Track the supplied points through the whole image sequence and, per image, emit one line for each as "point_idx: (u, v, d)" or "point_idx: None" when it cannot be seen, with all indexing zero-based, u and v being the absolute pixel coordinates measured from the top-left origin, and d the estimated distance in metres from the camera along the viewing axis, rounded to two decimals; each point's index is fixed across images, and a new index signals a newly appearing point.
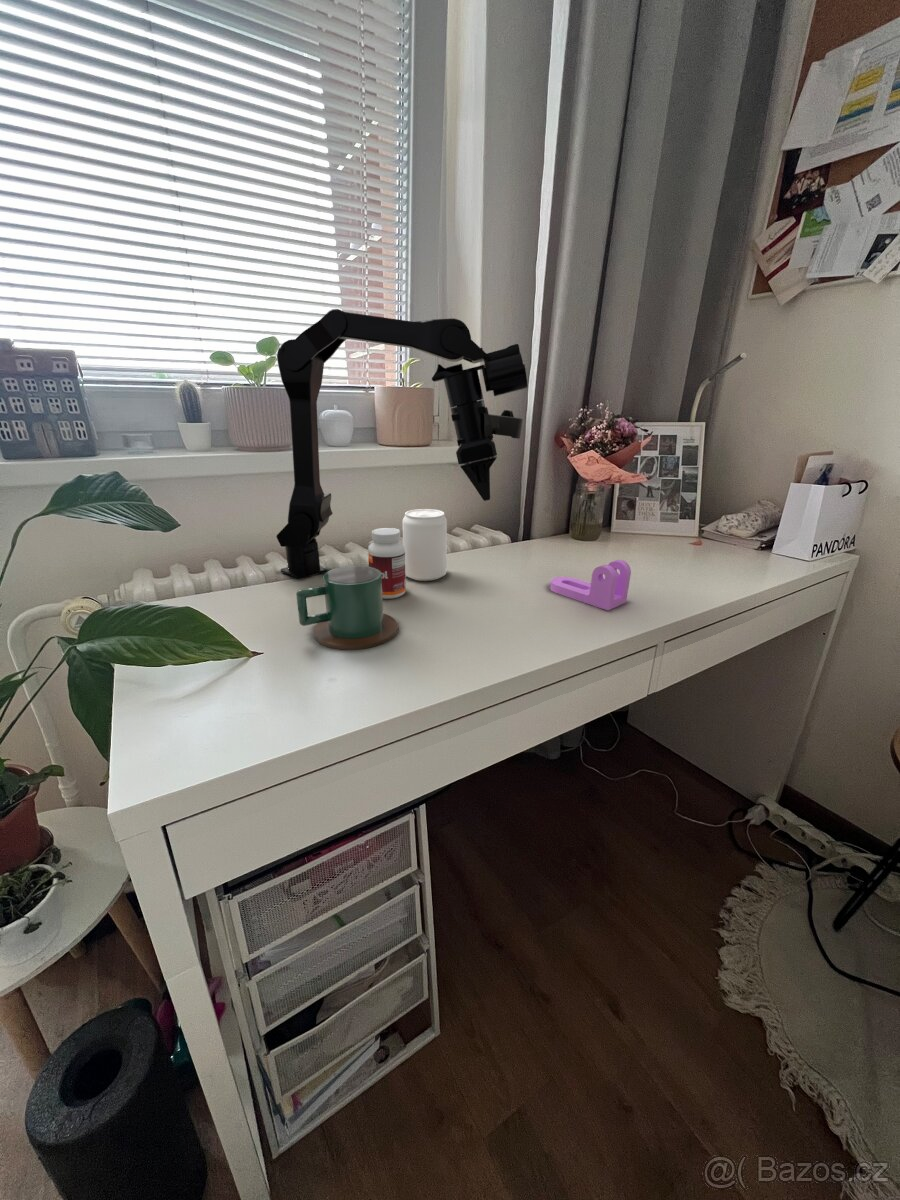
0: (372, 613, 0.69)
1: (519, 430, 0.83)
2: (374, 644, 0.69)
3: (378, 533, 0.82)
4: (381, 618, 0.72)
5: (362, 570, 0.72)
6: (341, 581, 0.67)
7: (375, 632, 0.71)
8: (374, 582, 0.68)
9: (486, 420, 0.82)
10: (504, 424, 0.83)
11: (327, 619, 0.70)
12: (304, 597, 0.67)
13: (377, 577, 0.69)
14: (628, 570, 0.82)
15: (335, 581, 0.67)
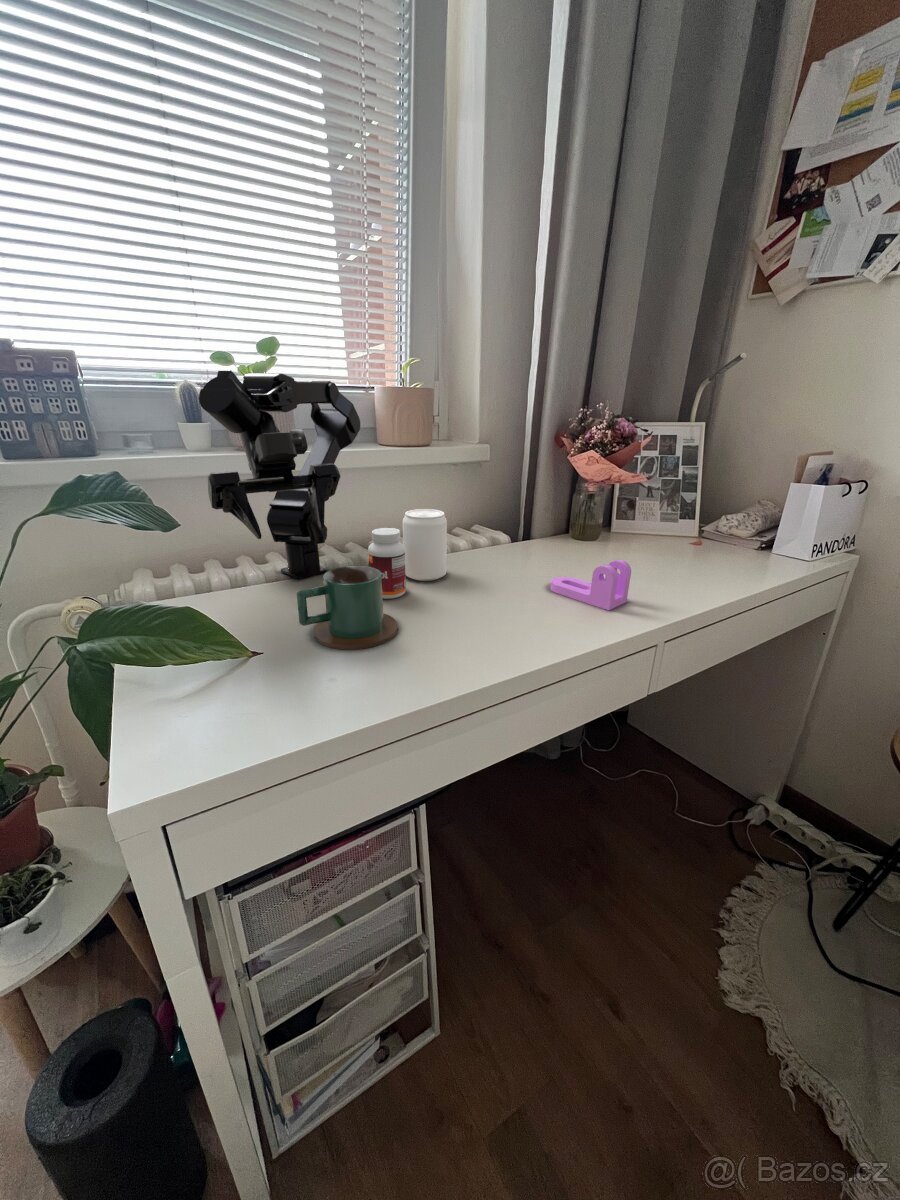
0: (372, 613, 0.69)
1: (263, 447, 0.69)
2: (374, 644, 0.69)
3: (378, 533, 0.82)
4: (381, 618, 0.72)
5: (362, 570, 0.72)
6: (341, 581, 0.67)
7: (375, 632, 0.71)
8: (374, 582, 0.68)
9: (251, 454, 0.74)
10: (257, 449, 0.71)
11: (327, 619, 0.70)
12: (304, 597, 0.67)
13: (377, 577, 0.69)
14: (628, 569, 0.82)
15: (335, 581, 0.67)
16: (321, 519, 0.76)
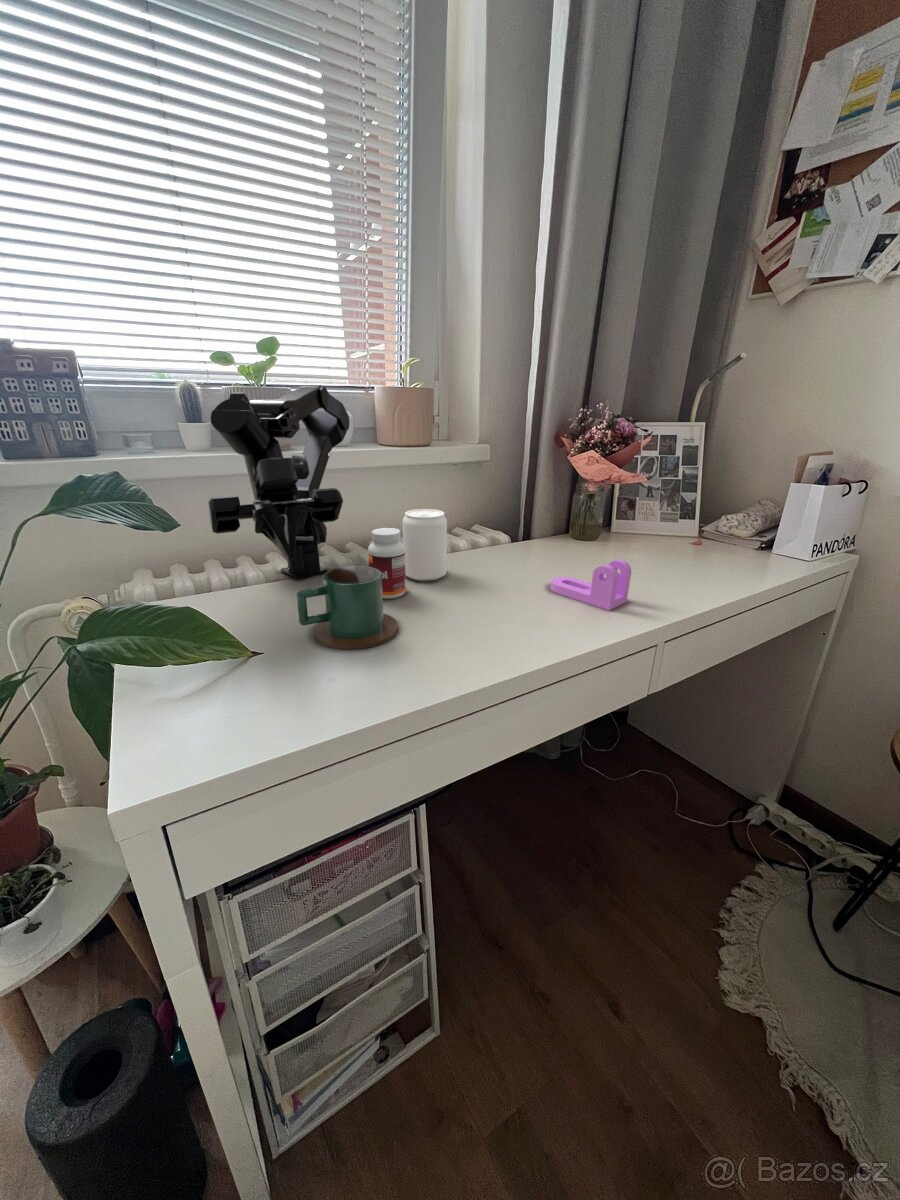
0: (372, 613, 0.69)
1: (263, 472, 0.69)
2: (374, 644, 0.69)
3: (378, 533, 0.82)
4: (381, 618, 0.72)
5: (362, 570, 0.72)
6: (341, 581, 0.67)
7: (375, 632, 0.71)
8: (374, 582, 0.68)
9: (254, 479, 0.73)
10: (258, 474, 0.71)
11: (327, 619, 0.70)
12: (304, 597, 0.67)
13: (377, 577, 0.69)
14: (628, 569, 0.82)
15: (335, 581, 0.67)
16: (291, 548, 0.73)
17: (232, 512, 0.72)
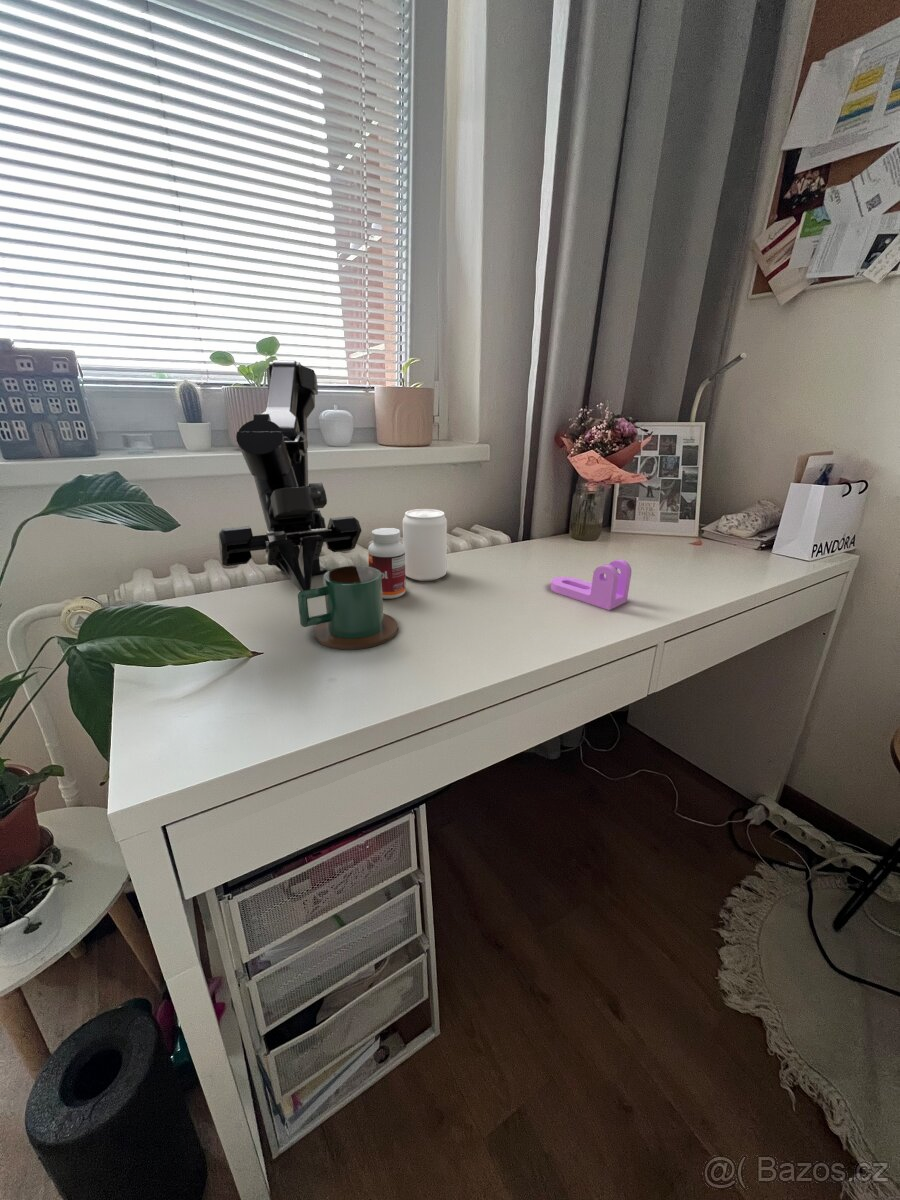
0: (373, 613, 0.69)
1: (278, 503, 0.64)
2: (374, 644, 0.69)
3: (378, 533, 0.82)
4: (382, 617, 0.72)
5: (361, 570, 0.72)
6: (342, 581, 0.67)
7: (376, 631, 0.71)
8: (375, 581, 0.68)
9: (267, 508, 0.68)
10: (272, 503, 0.66)
11: (328, 620, 0.70)
12: (305, 598, 0.67)
13: (378, 576, 0.69)
14: (628, 569, 0.82)
15: (336, 581, 0.67)
16: (307, 583, 0.68)
17: (244, 544, 0.67)
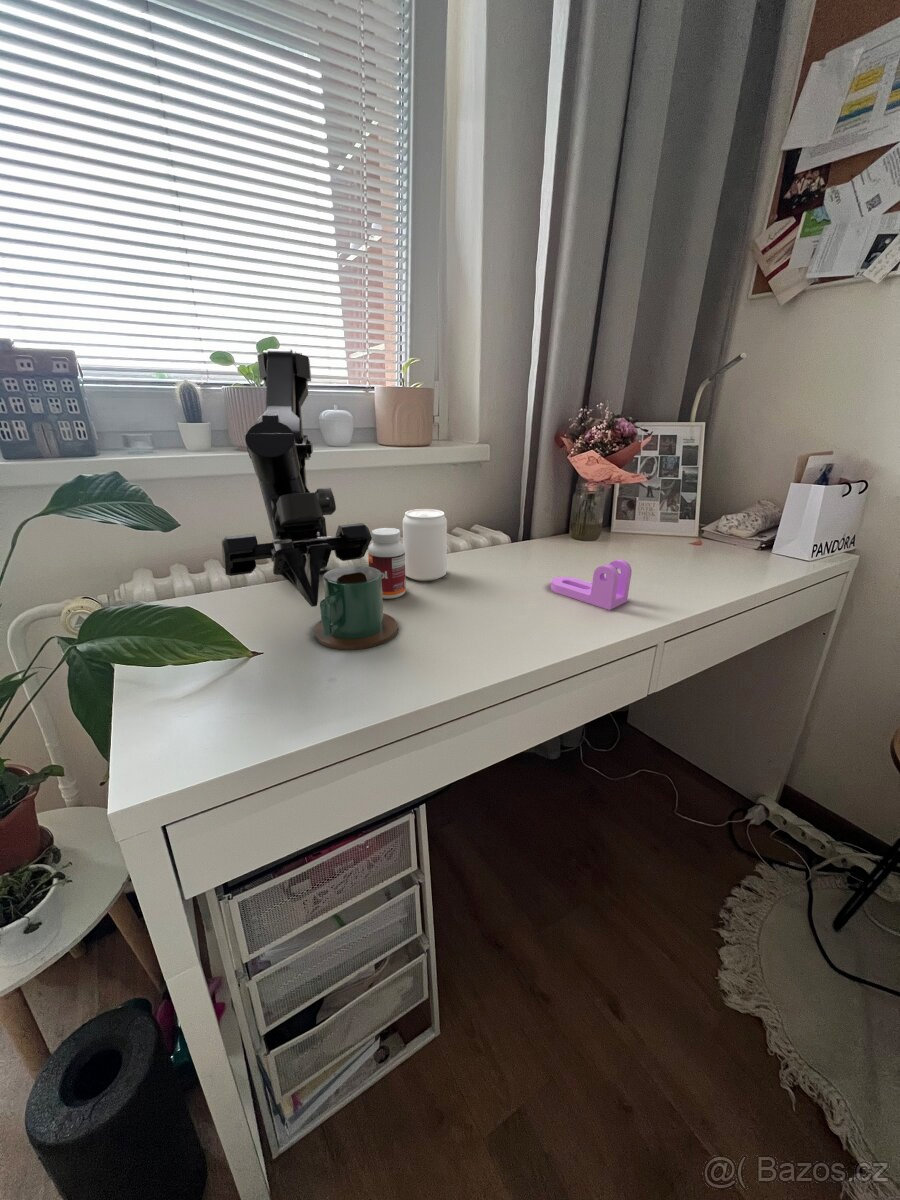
0: (382, 606, 0.72)
1: (285, 510, 0.60)
2: (374, 644, 0.69)
3: (378, 533, 0.82)
4: None
5: (352, 569, 0.72)
6: (358, 581, 0.67)
7: (383, 624, 0.73)
8: (381, 575, 0.71)
9: None
10: (278, 510, 0.62)
11: (343, 624, 0.68)
12: (329, 606, 0.64)
13: (378, 571, 0.71)
14: (629, 569, 0.82)
15: (352, 583, 0.67)
16: (314, 594, 0.64)
17: (248, 553, 0.64)
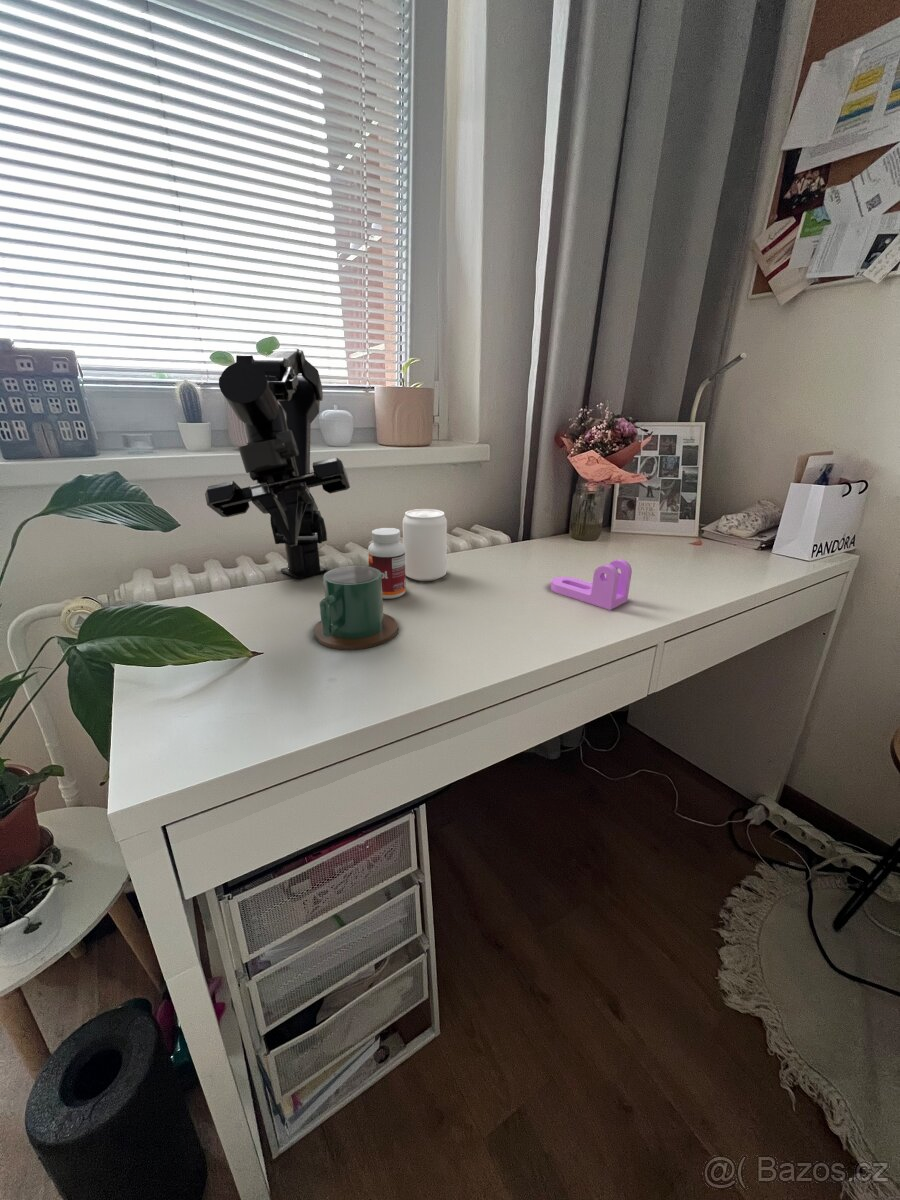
0: (382, 606, 0.72)
1: (244, 461, 0.63)
2: (374, 644, 0.69)
3: (378, 533, 0.82)
4: None
5: (353, 569, 0.72)
6: (357, 581, 0.67)
7: (383, 624, 0.73)
8: (381, 575, 0.71)
9: None
10: None
11: (343, 624, 0.68)
12: (329, 606, 0.64)
13: (378, 571, 0.71)
14: (629, 569, 0.82)
15: (351, 583, 0.67)
16: (291, 535, 0.69)
17: (233, 498, 0.70)
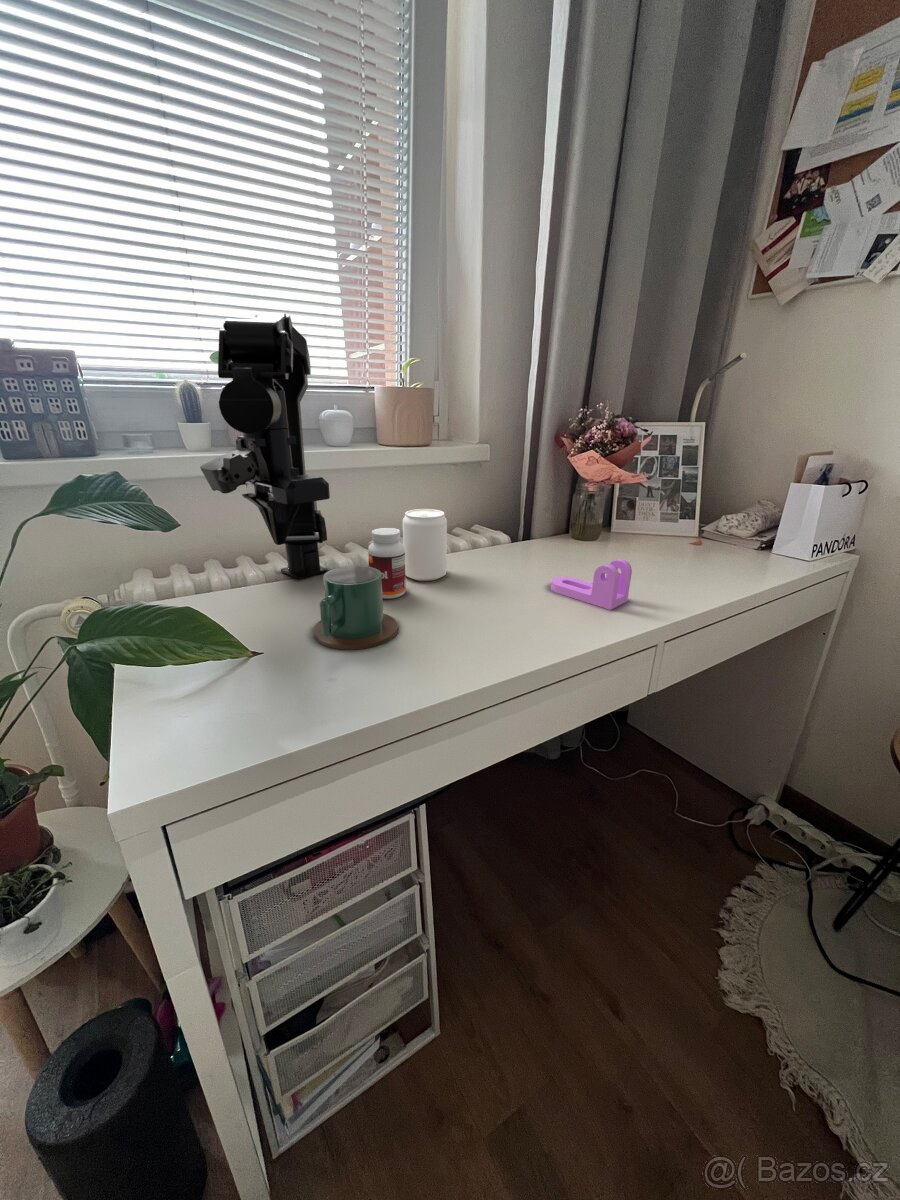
0: (382, 606, 0.72)
1: (207, 479, 0.64)
2: (374, 644, 0.69)
3: (378, 533, 0.82)
4: None
5: (353, 569, 0.72)
6: (357, 581, 0.67)
7: (383, 624, 0.73)
8: (381, 575, 0.71)
9: None
10: None
11: (343, 624, 0.68)
12: (329, 606, 0.64)
13: (378, 571, 0.71)
14: (629, 569, 0.82)
15: (351, 583, 0.67)
16: (274, 537, 0.70)
17: None
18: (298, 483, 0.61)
